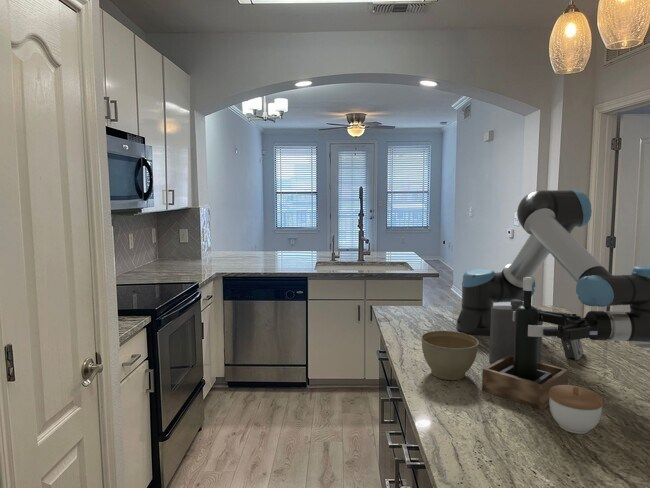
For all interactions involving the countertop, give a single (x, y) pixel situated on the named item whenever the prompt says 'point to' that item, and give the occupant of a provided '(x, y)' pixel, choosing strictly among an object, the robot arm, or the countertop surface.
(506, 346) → the flask
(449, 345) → the planter bowl
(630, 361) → the countertop surface
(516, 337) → the wine bottle
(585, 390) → the lidded jar
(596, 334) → the robot arm
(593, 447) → the countertop surface
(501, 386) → the crate
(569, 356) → the electrical switch
